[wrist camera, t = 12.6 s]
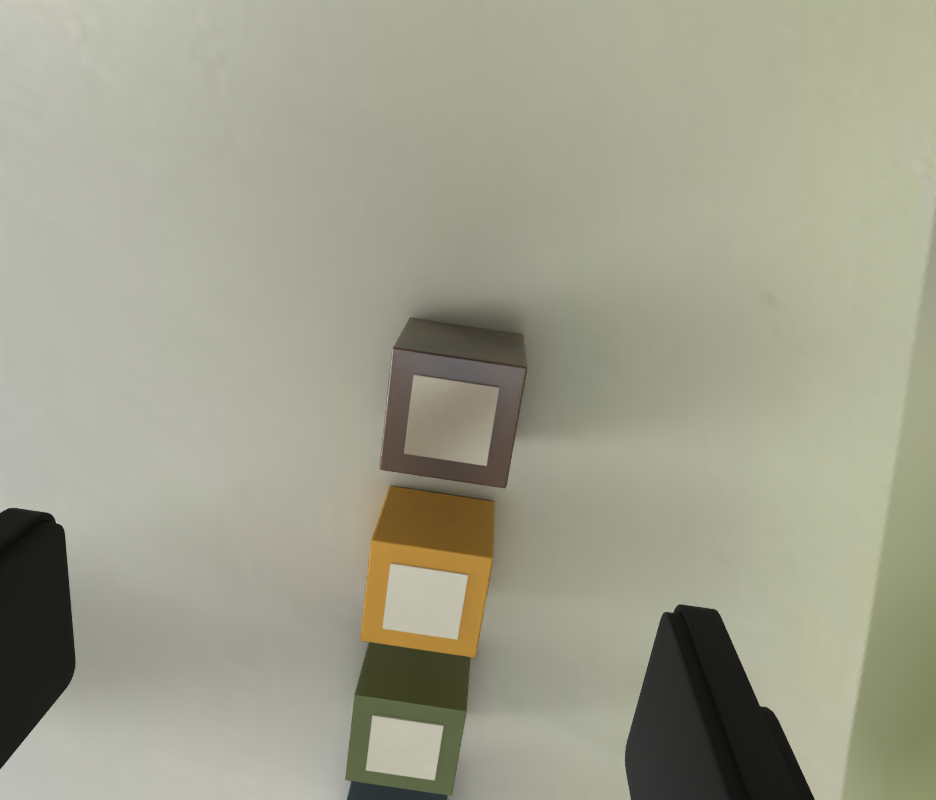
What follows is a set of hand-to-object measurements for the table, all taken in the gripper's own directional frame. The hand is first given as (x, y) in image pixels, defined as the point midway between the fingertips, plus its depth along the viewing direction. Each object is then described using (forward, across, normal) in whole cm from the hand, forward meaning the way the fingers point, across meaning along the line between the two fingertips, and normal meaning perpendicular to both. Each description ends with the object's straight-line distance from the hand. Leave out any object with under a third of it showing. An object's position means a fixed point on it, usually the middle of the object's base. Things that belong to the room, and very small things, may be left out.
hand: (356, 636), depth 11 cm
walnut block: (+21, 0, +3) cm, 21 cm away
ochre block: (+20, 0, +11) cm, 23 cm away
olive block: (+20, 0, +19) cm, 28 cm away
